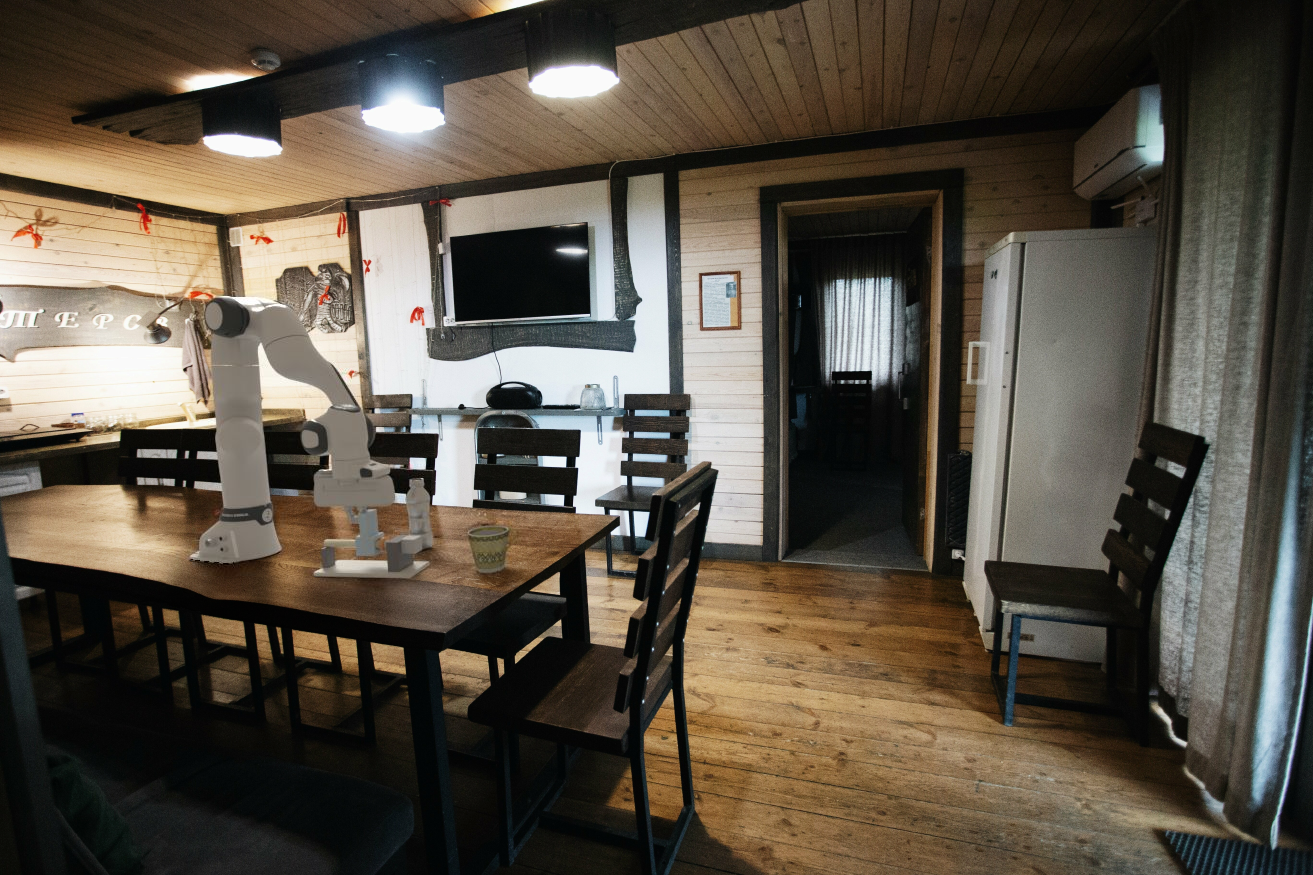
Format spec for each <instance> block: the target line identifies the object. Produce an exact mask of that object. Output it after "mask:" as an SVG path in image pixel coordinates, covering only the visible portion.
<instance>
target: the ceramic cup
mask: <svg viewBox="0 0 1313 875" xmlns="http://www.w3.org/2000/svg"><path fill="white" fill-rule="evenodd" d="M513 532H516V533H517V536H516V537H515V538H514V539H513V540H512V541H511V542H510V543H509V545H508V540H509V537H510V535H511V534H512V533H513ZM519 537H520V531H519V530H518V529H516V528H511V529H509V527H507V526H504V525H485V526H478V527H475V528H471V529H470V530H468V531H467V538H468V543H469V545H470V550H471V552H472V556H473V561H474V565H475V570H476V571H477V572H478V573H479V574H492V573H497V571H498V572H500V571H502V570H503V569H504V568H505V565H506V564H505V563H506V555H507V553H508V552H507V551H508V549H510V547H511V546H512V545H513V544H514V543H515V542H516V541H517V540H518V539H519Z"/></svg>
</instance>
